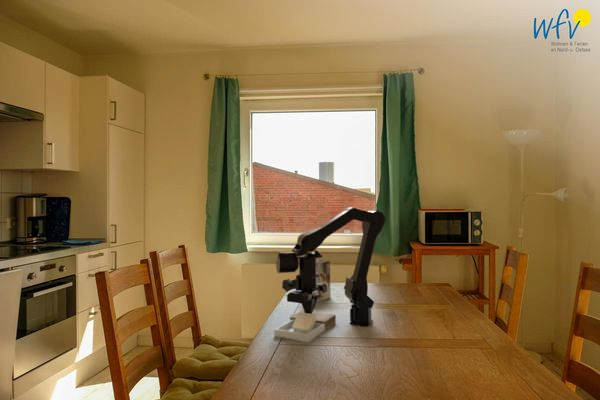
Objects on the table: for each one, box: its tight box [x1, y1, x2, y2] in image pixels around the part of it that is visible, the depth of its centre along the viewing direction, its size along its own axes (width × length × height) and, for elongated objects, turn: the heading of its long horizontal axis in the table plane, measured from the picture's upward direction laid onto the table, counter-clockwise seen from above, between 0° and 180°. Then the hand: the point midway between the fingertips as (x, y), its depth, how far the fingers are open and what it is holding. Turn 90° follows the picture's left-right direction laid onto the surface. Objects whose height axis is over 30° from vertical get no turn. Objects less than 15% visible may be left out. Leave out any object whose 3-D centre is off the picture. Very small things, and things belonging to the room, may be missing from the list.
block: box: [292, 311, 316, 333], centre depth 137 cm, size 6×6×2 cm
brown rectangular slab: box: [289, 310, 336, 332], centre depth 145 cm, size 13×9×3 cm
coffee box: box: [315, 259, 331, 303], centre depth 180 cm, size 9×6×16 cm
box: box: [274, 319, 326, 343], centre depth 135 cm, size 12×12×2 cm
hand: (308, 317), depth 140 cm, fingers closed
